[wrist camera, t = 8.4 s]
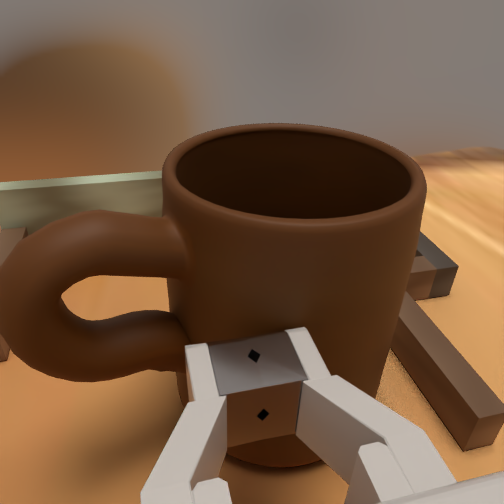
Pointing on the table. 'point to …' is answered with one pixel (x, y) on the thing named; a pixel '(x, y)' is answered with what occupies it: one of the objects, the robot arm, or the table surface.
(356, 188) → the mug
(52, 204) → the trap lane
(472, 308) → the table surface
